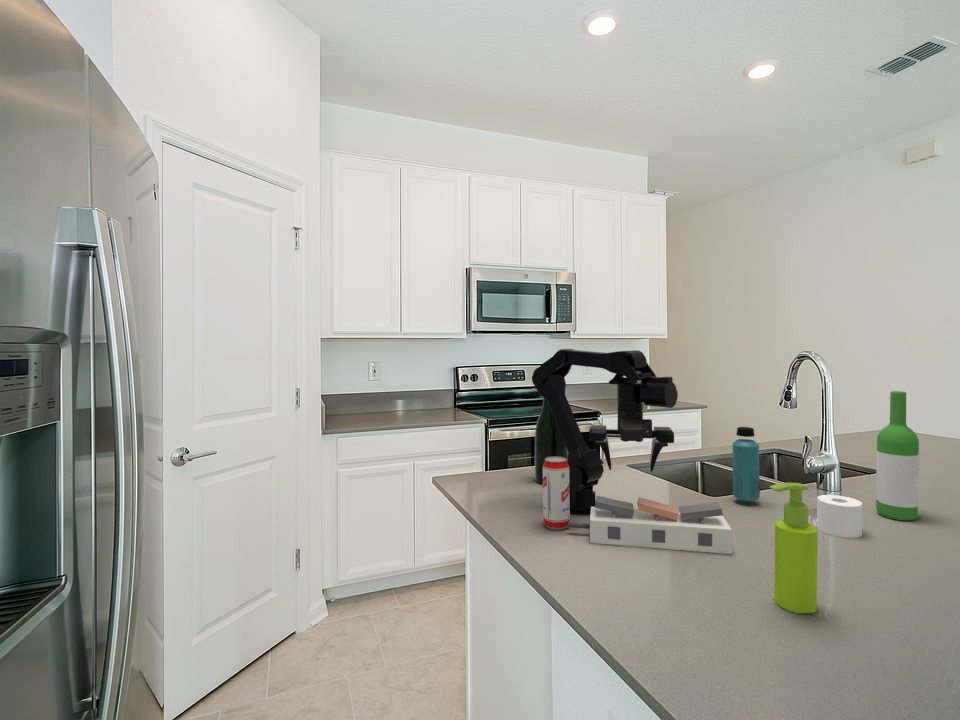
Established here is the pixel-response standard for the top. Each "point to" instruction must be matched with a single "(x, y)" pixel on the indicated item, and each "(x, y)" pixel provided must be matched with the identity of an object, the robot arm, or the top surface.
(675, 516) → the rocker
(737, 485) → the beverage bottle
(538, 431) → the beer bottle
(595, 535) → the power strip
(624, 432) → the robot arm
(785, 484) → the soap dispenser
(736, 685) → the top surface
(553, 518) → the beer can
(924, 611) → the top surface
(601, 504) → the rocker
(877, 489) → the wine bottle
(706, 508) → the rocker
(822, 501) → the toilet paper
